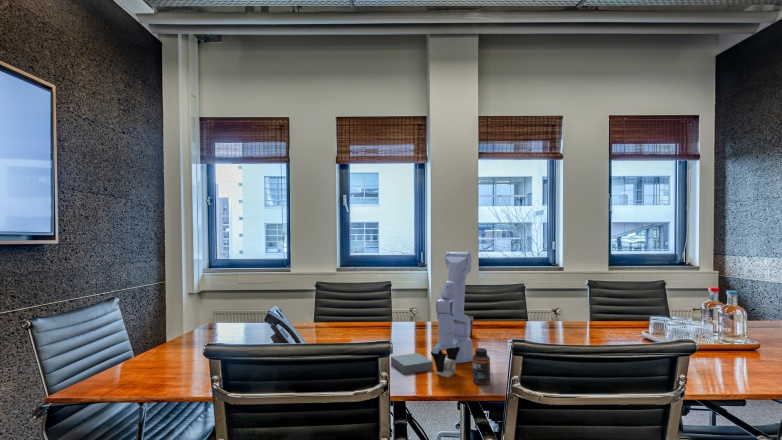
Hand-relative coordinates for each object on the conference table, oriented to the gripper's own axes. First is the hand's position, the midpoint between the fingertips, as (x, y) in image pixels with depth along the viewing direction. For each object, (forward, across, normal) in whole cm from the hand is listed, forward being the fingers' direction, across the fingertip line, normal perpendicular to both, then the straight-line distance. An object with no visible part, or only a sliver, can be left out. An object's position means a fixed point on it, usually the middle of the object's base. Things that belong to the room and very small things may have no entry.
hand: (445, 369), depth 149 cm
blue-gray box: (+2, -2, +14) cm, 15 cm away
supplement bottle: (+2, +1, -14) cm, 14 cm away
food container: (+2, +56, +25) cm, 61 cm away
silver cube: (+2, 0, 0) cm, 2 cm away
